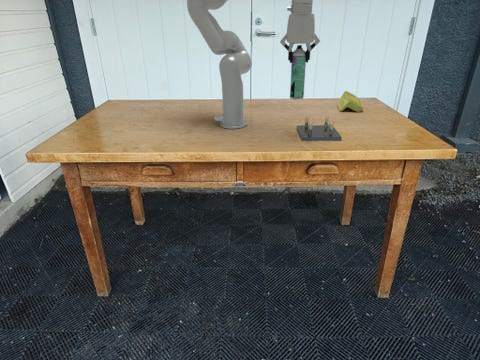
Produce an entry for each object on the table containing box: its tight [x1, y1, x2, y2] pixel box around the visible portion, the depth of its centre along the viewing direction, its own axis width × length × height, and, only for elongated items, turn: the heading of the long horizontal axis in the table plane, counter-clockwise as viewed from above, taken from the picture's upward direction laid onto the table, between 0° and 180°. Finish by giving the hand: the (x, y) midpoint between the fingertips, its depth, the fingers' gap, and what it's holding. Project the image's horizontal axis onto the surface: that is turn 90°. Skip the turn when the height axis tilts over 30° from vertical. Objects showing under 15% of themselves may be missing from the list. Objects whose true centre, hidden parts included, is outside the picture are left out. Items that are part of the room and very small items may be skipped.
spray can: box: [289, 44, 307, 100], centre depth 126 cm, size 6×6×20 cm
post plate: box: [296, 115, 343, 142], centre depth 136 cm, size 16×16×6 cm
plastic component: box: [337, 90, 364, 113], centre depth 176 cm, size 20×7×10 cm
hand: (298, 61), depth 124 cm, fingers closed on spray can, 5 cm apart
